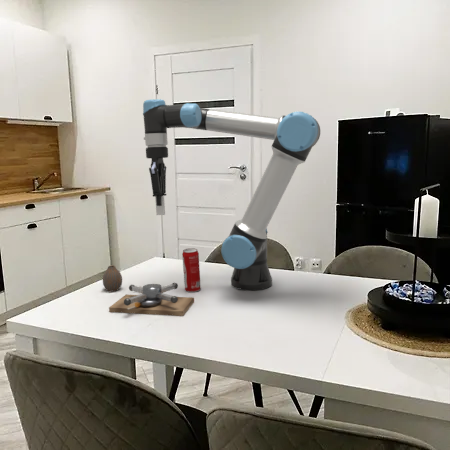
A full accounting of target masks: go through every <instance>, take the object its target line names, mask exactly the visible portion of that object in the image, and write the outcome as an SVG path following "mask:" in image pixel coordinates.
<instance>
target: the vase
mask: <svg viewBox="0 0 450 450" xmlns="http://www.w3.org/2000/svg"><path fill="white" fill-rule="evenodd" d="M102 276H103V277H102V285H103V288H105V290H107V291H108V292H116V291H118V290H120V289H121V287H122V284H123V276H122V274H121V272H120V270H118V268H117V267H116V266H115V265H113V264H112V265H108V266H107V268H106V270H105V272H104V273H103V275H102Z"/></svg>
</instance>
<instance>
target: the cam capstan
mask: <svg viewBox="0 0 450 450" xmlns="http://www.w3.org/2000/svg"><path fill="white" fill-rule="evenodd" d="M178 288H179V284H178V283H177V282H172V283H171V284H167V285H164V286H162V285H161V284H159V283H149V284H144V285H143V286H142V287H141V286H138V285H135V284H130V285H129V286H128V289H129V291H130V292H134V293H138V294H136V295H137V296H134V297H131V298H126V299H125V300H124V304H125V305H127V306H128V305H130V304H132V303H135V302H136V303H135V307H140V306H142V307H151V306H156V305H159V304H161V303H162V299H163V300H166V301H170V302H172V303H176V302H177V301H178V298H177V297H178V296H176V295H171V294H167V293H166V292H169V291H172V290H176V289H178Z"/></svg>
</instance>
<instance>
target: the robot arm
mask: <svg viewBox="0 0 450 450" xmlns="http://www.w3.org/2000/svg"><path fill="white" fill-rule="evenodd" d="M142 107H143V108H142V109H143V110H142V111H143V113H142V116H143V125H144V137H143V140H144V142H145V146H146V148H145V156H146V157H145V158H146V159H151V163H150V167H148V171H149V173H150V174H149V175H150V182H151V189H152V197H154V199H155V213H156V216H165V215H166V208H165V207H166V206H165V204H166V203H165V196H167V193H166V192H167V191H166V187H167V183H166V181H167V178H166V175H167V166H166V165H165V163H164V159H166V158H169V148H168V146H167V145H169V144H168V143H169V142H168V132H167V131H168V129H177V128H178V129H179V128H181V129H182V128H185V129H193V130H201V131H210V132H215V133H223V134H230V135H236V136H243V137H245V136H246V137H251V138H257V139H264V140H273V143H272V145H271V150H272V156H271V157H270V160H269V162H268V163H267V166H266V168H265V170H264V172H263V174H262V176H261V178H260V181H259V183H258V185H257V187H256V189H255V191H254V193H253V194H252V197H251V199H250V201H249V204H248V205H247V207H246V210H245V211H244V214H243V216H242V217H241V219H239V220H236V221H235V222H234V224H233V227H232V229H231V231H230V233H229V235H228V236H227V237H226V238H225V239H224V240H223V242H222V245H221V251H220V252H221V256H222V258H223V260H224V262H225V263H226V264H227V266H230V267H231V268H233V271H232V275H231V277H230V286H231V287H233V288H234V289H239V290H242V291H243V290H244V291H246V290H247V291H259V290H266V289H269V288H270V287H272V285H273V277H272V275H271V271H270V269H269V266H268V233H269V232H268V226H269V224H270V221H271V220H272V217H273V216H274V214H275V212H276V210H277V208H278V206H279V203H280V202H281V200H282V197H283V196H284V194H285V192H286V190H287V188H288V186H289V183H290V182H291V180H292V179H293V176H294V174H295V172H296V170H297V168H298V166H299V165H301V164H304V163H305V162H306V160H307V159H308V156H309V154H310V152H311V150H312V148H313V147H314V146H316V145H317V143H318V142H319V139H320V138H321V137H320V136H321V126H320V124H319V121H317V120H316V119H315V118H314V117H313V115H311V114H309V113H308V112H305V111H294V112H290V113H288V114H286V115H281V116H280V117H275V116H274V117H273V116H266V115H259V114H253V113H252V114H251V113H244V112H234V111H227V110H220V109H219V110H218V109H212V108H211V109H210V108H203V107H200V106H199V104H197V103H189V102H187V103H181V104H179V103H178V104H169V105H168V104H166V101H165V100H164V99H161V98H160V99H159V98H158V99H156V98H155V99H146V100H144V102H143V106H142Z"/></svg>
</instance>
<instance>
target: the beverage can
mask: <svg viewBox="0 0 450 450" xmlns="http://www.w3.org/2000/svg"><path fill="white" fill-rule="evenodd" d="M181 257H182V266H183V267H182V268H183V283H184V291H186V292H187V293H197V292H198V291H201V286H202V285H201V270H200V255H199V250H198V249H197V248H194V247H191V248H185V249H183V250H182V256H181Z"/></svg>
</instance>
